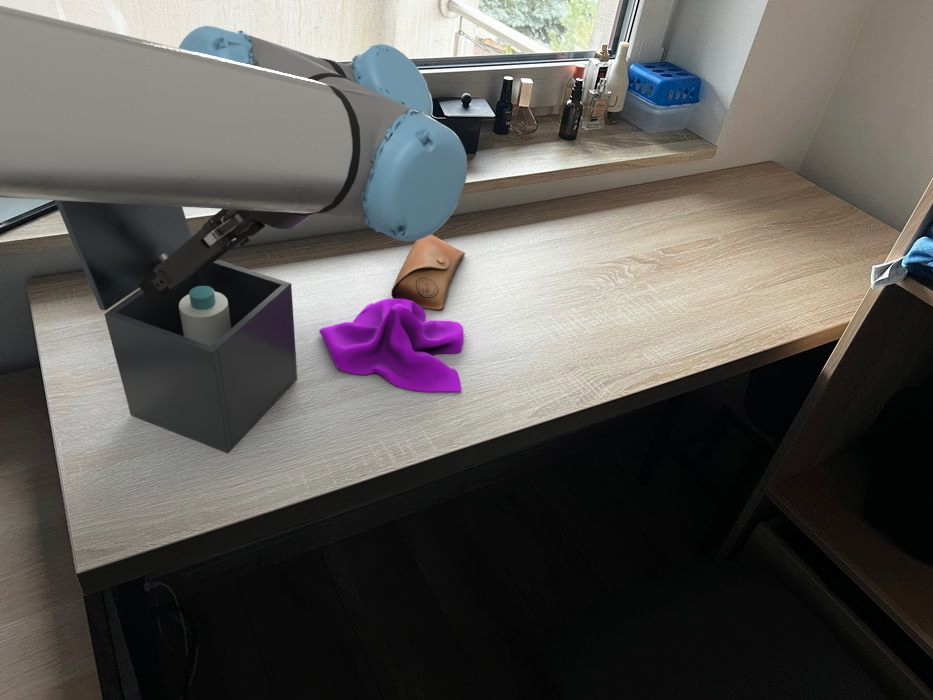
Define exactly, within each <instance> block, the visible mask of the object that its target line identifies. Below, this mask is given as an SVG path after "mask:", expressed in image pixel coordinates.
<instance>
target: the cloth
mask: <svg viewBox="0 0 933 700" xmlns="http://www.w3.org/2000/svg"><path fill="white" fill-rule="evenodd" d="M426 316H427V315H426V311H425V309H423V308H421V307H420V306H419V305H417V304H416V303H415V302H413V301H411V300H407V299H393V298H384V299H380V300H378V301H376V302H371V303H369V304H367V305H366V306H365V307H364V308H363V309H362V310H361V311H360V312H359V313H358V314H357V315H356V317H355V318H354V319H353V321H344V322H340V323H337V324H336V323H335V324H333V325H330V326H326V327H322V328H320V329H319V333H320V335H321V337H322V338H323V340H324V342H325V345H326V347H327V349H328V351H329V352H330V355H331V357H332V360H333V362H334V364H335V366H336V368H337V369H338V370H339V371H342V372H345V373H348V374H351V375H357V376H365V375H366V376H367V375H372V374H379V375H380V376H381V377H383V378H384V379H385V380H387V381H388V382H389V383H391V384H392V385H393V386H395V387H397V388H400V389H404V390H408V391H413V392H414V391H415V392H421V393H422V392H423V393H461V392H462V385H461V379H460V376H459V373H458V370H456V369H455V368H451V367H450V366H449V365H448V364H446V363H445V362H444V361H442V360H441V359H440V358H438V357H436V356H435V355H450V354H451V355H454V354H459V353H461V351H462V349H463V346H464V326H463V325H462V324H461V323H460V322H458V321H454V320H435V319H429V320H426V318H427V317H426Z"/></svg>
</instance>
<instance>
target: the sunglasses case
mask: <svg viewBox="0 0 933 700" xmlns="http://www.w3.org/2000/svg"><path fill="white" fill-rule="evenodd" d="M465 254H466V252H465V251H462V250H460V249H458V248H456V247H454V246H452V245H451V244H449V243H447V242H445V241H444V240H442V239H440V238H439V237H437V236H435V235H433V234H431V235H429V236H427V237H425V238H422V239H420V240H416V241H415V242H414V243H413V245H412V246H411V248H410V251H409V252H408V254H407V256H406V258H405V260H404V262H403V264H402V266H401V267H400V269H399V272H398V274H397V277H396V279H395V281H394V284H393V287H392V289H391V299H407V300H411V301H413V302H415V303H416V304H417V305H419V306H420V307H421V308H423V309H424V310H433V311H439V310H443V309H444V308H445V305H446V300H447V295H448V291H449V288H450V285H451V283H452V280H453V277H454V276H455V273H456V271H457V268H458V266H459V265H460V263H461V261H462V260H463V258H464V256H465Z"/></svg>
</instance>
